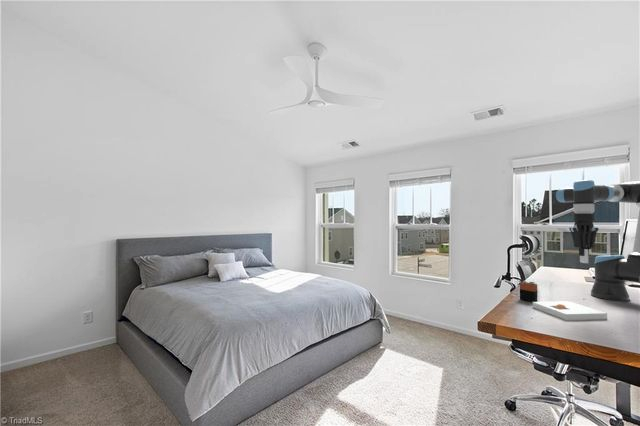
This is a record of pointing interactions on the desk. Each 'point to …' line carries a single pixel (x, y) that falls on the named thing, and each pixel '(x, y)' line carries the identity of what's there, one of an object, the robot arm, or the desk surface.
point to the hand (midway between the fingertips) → (584, 262)
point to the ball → (560, 306)
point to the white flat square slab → (570, 311)
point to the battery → (528, 291)
